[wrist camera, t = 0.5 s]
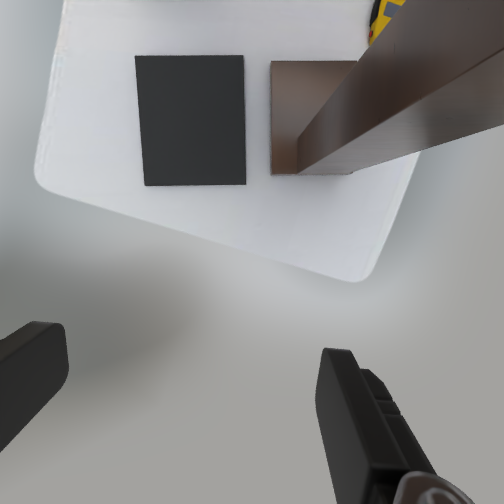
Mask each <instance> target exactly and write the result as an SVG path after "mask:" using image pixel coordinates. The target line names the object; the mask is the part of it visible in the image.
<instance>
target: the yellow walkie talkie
mask: <svg viewBox="0 0 504 504" xmlns="http://www.w3.org/2000/svg"><path fill="white" fill-rule="evenodd" d="M405 1H406V0H375V3H374V6H373V10H372V15H371V20H370V27H371V31H370V34H369V37H370V45H371V44H372V43H373V41H374V40H375V39H376V38H377V36H378V35H379V34H380V32H381V31H382V30H383V29H384V27H385V26H386V25H387V23H388V22H389V21H390V20H391V18H392V17H393V16H394V15H395V13H396V12H397V11H398V9H399V8H400V7H401V6H402V4H403V3H404V2H405Z"/></svg>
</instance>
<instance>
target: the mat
mask: <svg viewBox="0 0 504 504" xmlns="http://www.w3.org/2000/svg"><path fill="white" fill-rule="evenodd" d="M135 65H136V78H137V91H138V105H139V118H140V131H141V144H142V157H143V171H144V184H145V186H173V185H245V184H246V167H245V114H244V60H243V55H201V56H135Z"/></svg>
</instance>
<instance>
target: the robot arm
mask: <svg viewBox="0 0 504 504" xmlns="http://www.w3.org/2000/svg"><path fill="white" fill-rule="evenodd" d="M68 371H69V363H68V355H67V345H66V337H65V330H64V327H63V326H62V325H61V324H59V323H49V322H37V321H32V322H30V323H28V324H26V325H25V326H23V327H22V328H20V329H18V330H17V331H15V332H14V333H12V334H10V335H9V336H7V337H6V338H4V339H2V340H0V452H1V451H2V450H3V449H4V448H5V447H6V446H7V445H8V444H9V443H10V441H12V439H13V438H14V437H15V436H16V435H17V434H18V433H19V432H20V431H21V430H22V429H23V428H24V427H25V426H26V425H27V424H28V423H29V422H30V420H31V419H32V418H33V417H34V416H35V415H36V414H37V413H38V412H39V411H40V410H41V409H42V408H43V406H45V405H46V404H47V403H48V401H49V400H50V399H51V398H52V397H53V396H54V395H55V394H56V393H57V392H58V391H59V390H60V389H61V387H62V386H63V384H64V383H65V381H66V378H67V375H68ZM315 395H316V396H315V403H316V412H317V417H318V422H319V426H320V430H321V435H322V439H323V444H324V448H325V452H326V457H327V461H328V466H329V470H330V475H331V479H332V483H333V488H334V492H335V496H336V501H337V504H475V503H474V502H473V501H472V500H471V499H470V498H469V497H468V496H467V495H466V494H465V493H464V492H462V491H461V490H460V489H459V488H457V487H456V486H455V485H453V484H451V483H450V482H449V481H447V480H445V479H443V478H441V477H439V476H438V475H437V474H436V472H435V470H434V469H433V467H432V465H431V464H430V462H429V460H428V459H427V457H426V455H425V453H424V452H423V450H422V448H421V446H420V445H419V443H418V441H417V440H416V438H415V436H414V435H413V433H412V431H411V429H410V428H409V426H408V424H407V423H406V421H405V419H404V417H403V416H401V414H400V411H399V409H398V407H397V405H396V403H395V402H393V400H392V397H391V395H390V393H389V392H388V390H387V388H386V386H385V385H384V383H383V382H382V381H381V380H380V379H379V378H378V377H377V376H376V375H374V374H373V373H372V372H371V371H370V370H369V369H360V368H359V366H358V364H357V362H356V360H355V358H354V356H353V354H352V352H351V351H350V350H345V349H334V348H324V349H323V351H322V356H321V362H320V368H319V374H318V380H317V386H316V394H315Z"/></svg>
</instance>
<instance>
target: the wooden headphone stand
mask: <svg viewBox="0 0 504 504" xmlns="http://www.w3.org/2000/svg"><path fill="white" fill-rule="evenodd" d="M503 124H504V0H406V1H405V2H404V3H403V4H402V6H401V7H400V8H399V9H398V11H397V12H396V13H395V15H394V16H393V17H392V18H391V20H390V21H389V22H388V23H387V25H386V26H385V27H384V29H383V30H382V31H381V32H380V34H379V35H378V36H377V38H376V39H375V40H374V41H373V43H372V44H371V45H370V46H369V48H368V49H367V50H366V52H365V53H364V54H363V55H362V57H361V58H360V59H359V61H358V62H357V61H271V65H270V175H271V176H281V175H348V174H351V173H353V172H354V171H357V170H360V169H363V168H367V167H370V166H373V165H376V164H379V163H383V162H386V161H389V160H392V159H395V158H398V157H402V156H405V155H408V154H411V153H414V152H417V151H421V150H424V149H427V148H430V147H433V146H437V145H440V144H443V143H446V142H449V141H452V140H456V139H459V138H462V137H465V136H468V135H472V134H475V133H478V132H481V131H484V130H487V129H491V128H494V127H496V126H500V125H503Z"/></svg>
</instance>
